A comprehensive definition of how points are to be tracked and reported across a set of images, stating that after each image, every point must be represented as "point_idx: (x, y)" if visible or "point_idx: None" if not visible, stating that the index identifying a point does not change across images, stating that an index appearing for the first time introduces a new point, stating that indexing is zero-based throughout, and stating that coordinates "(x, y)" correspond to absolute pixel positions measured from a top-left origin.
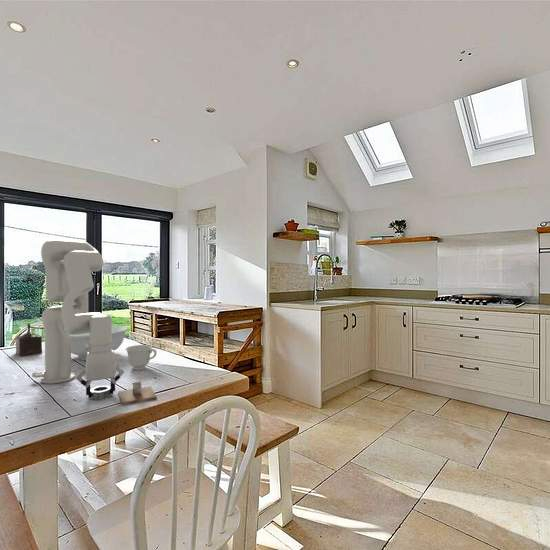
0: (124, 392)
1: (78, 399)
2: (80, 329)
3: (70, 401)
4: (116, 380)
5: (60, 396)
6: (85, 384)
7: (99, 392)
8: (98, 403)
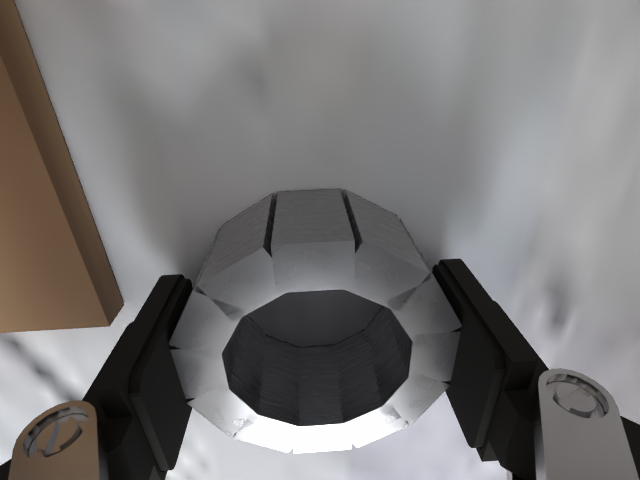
0: (3, 264)
1: (528, 302)
2: None
3: (608, 279)
4: (8, 473)
5: (627, 412)
6: (613, 435)
7: (340, 240)
8: (345, 69)
